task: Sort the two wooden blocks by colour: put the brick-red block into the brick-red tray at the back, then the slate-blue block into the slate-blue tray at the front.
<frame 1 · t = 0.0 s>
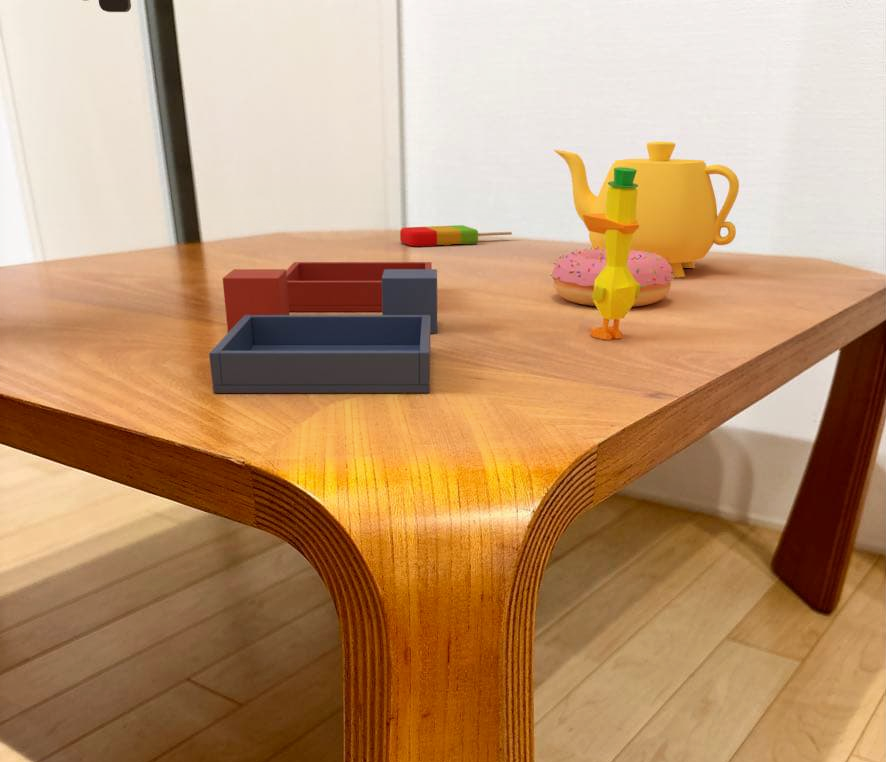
hand: (97, 6, 65), 22 cm above the table, tool pointing down, fingers open, 8 cm apart
blue tray: (330, 369, 61), on the table
toy figure: (605, 338, 70), on the table
popsicle: (458, 243, 120), on the table
red tray: (359, 299, 83), on the table
red block: (259, 327, 72), on the table
teapot: (636, 270, 100), on the table
doughnut: (610, 301, 84), on the table
blue block: (410, 327, 72), on the table
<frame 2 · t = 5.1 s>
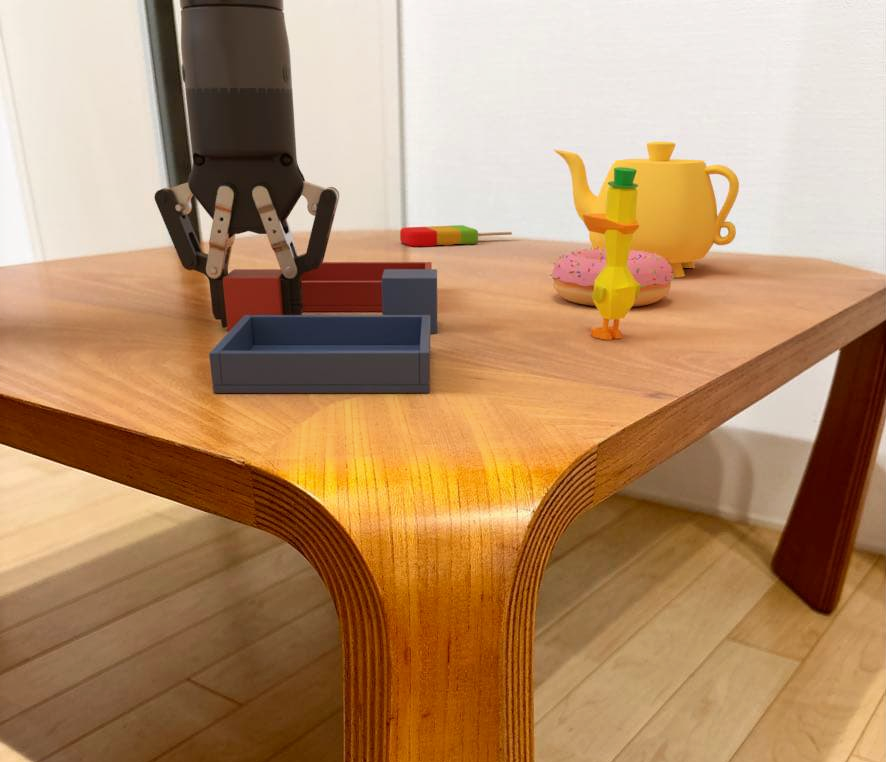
hand: (259, 324, 72), 0 cm above the table, tool pointing down, fingers closed on red block, 4 cm apart
red block: (259, 327, 72), on the table, touching gripper
everything else where it was.
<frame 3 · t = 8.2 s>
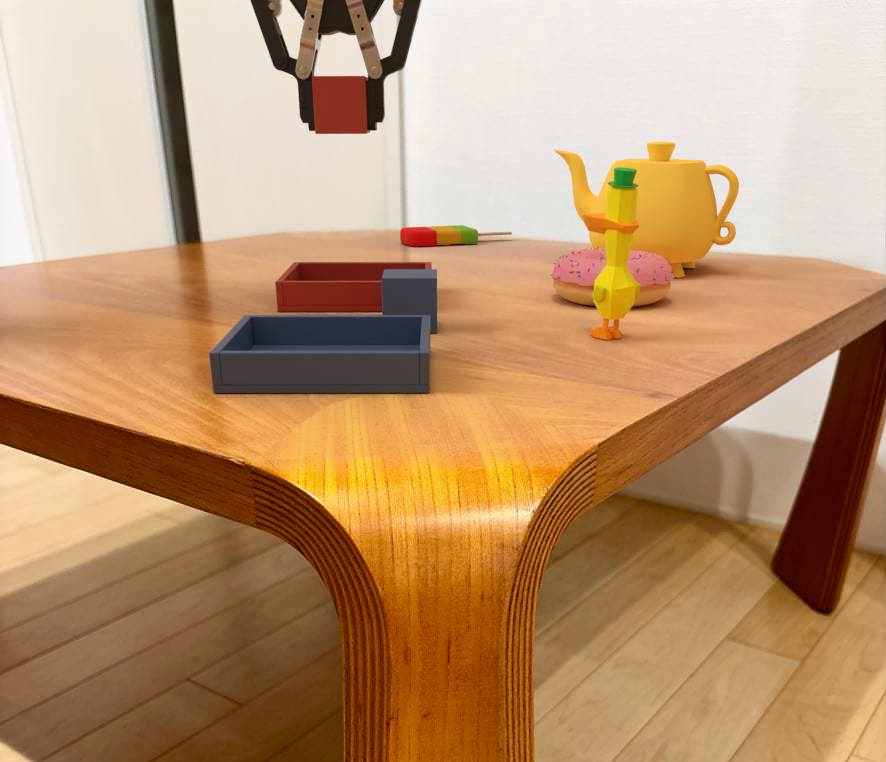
hand: (342, 129, 76), 14 cm above the table, tool pointing down, fingers closed on red block, 4 cm apart
red block: (343, 133, 76), point 14 cm above the table, touching gripper
everything else where it was.
when the fingers open (1 cm above the table, at t = 11.6 s): red block stays where it is, resting on red tray.
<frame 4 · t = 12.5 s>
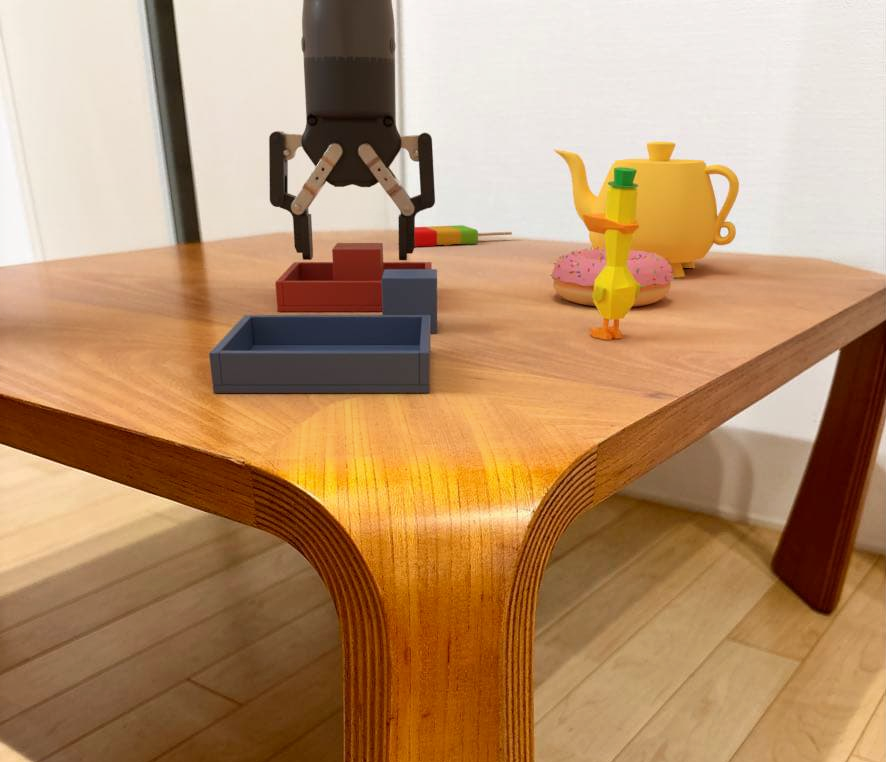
hand: (355, 259, 82), 4 cm above the table, tool pointing down, fingers open, 8 cm apart
red block: (359, 293, 83), resting on red tray
everything else where it was.
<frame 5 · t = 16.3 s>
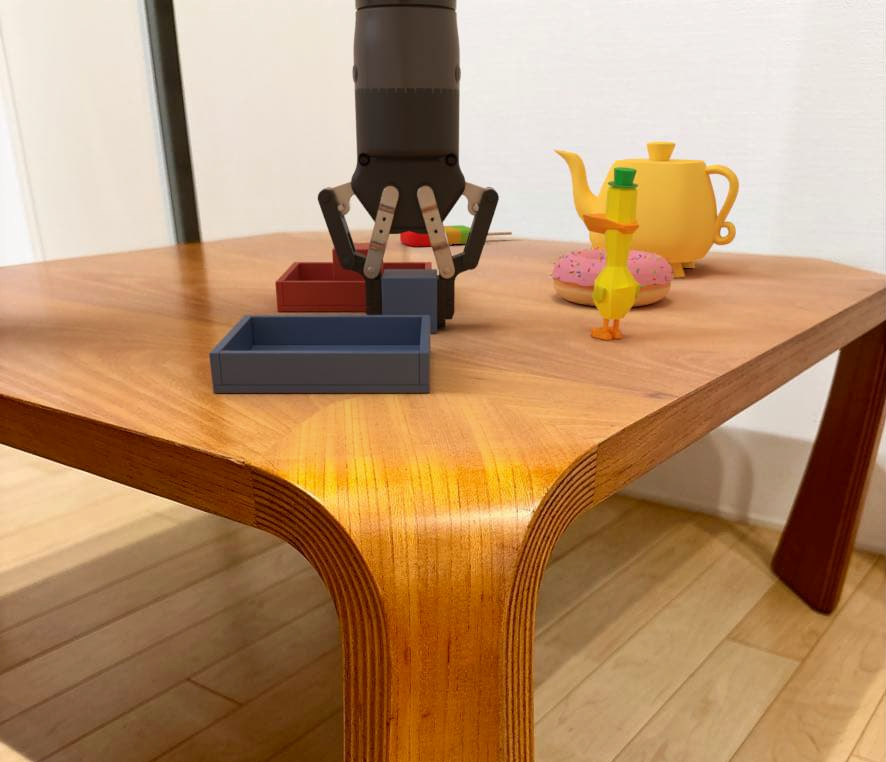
hand: (410, 324, 72), 0 cm above the table, tool pointing down, fingers closed on blue block, 4 cm apart
blue block: (410, 327, 72), on the table, touching gripper
everything else where it was.
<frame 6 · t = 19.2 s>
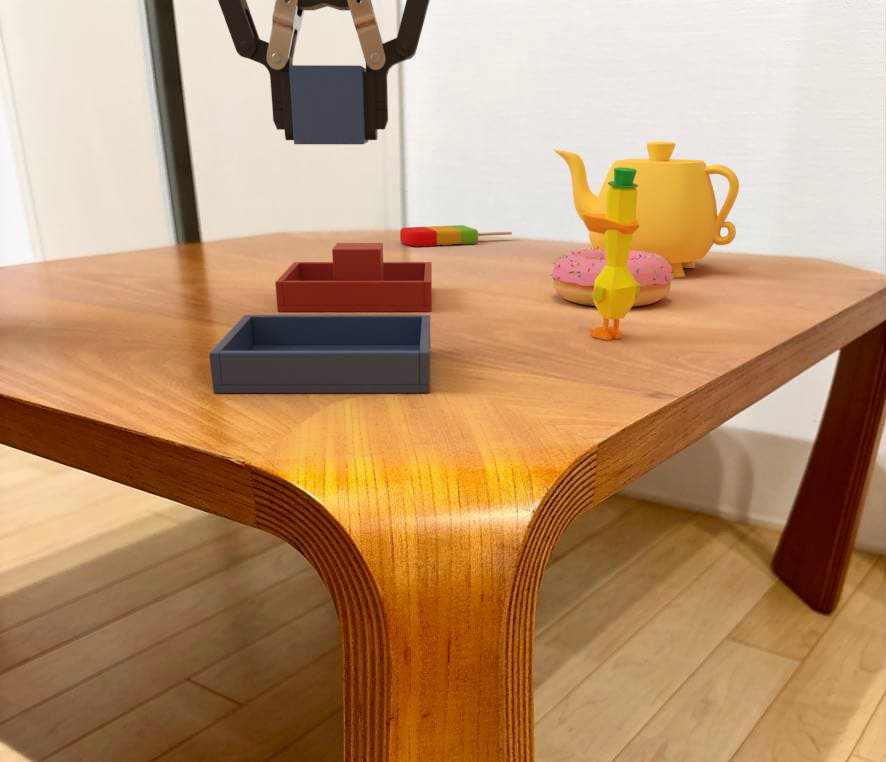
hand: (331, 138, 56), 14 cm above the table, tool pointing down, fingers closed on blue block, 4 cm apart
blue block: (332, 143, 56), point 14 cm above the table, touching gripper
everything else where it was.
when the fingers open (1 cm above the table, at t = 22.6 s): blue block stays where it is, resting on blue tray.
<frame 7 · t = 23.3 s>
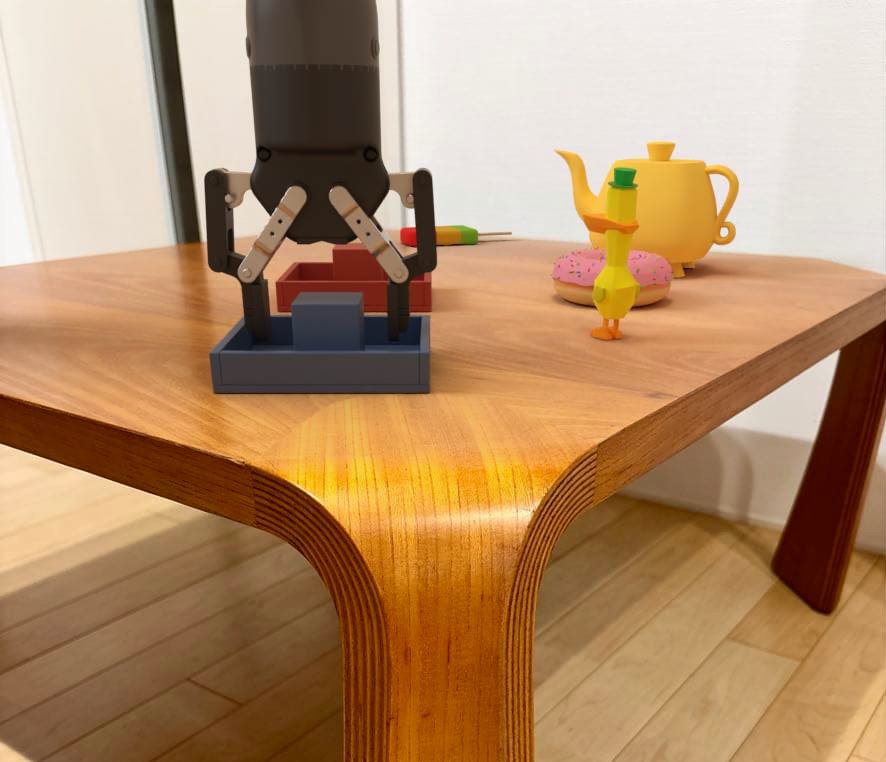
hand: (328, 339, 60), 2 cm above the table, tool pointing down, fingers open, 8 cm apart
blue block: (331, 362, 60), resting on blue tray
everything else where it was.
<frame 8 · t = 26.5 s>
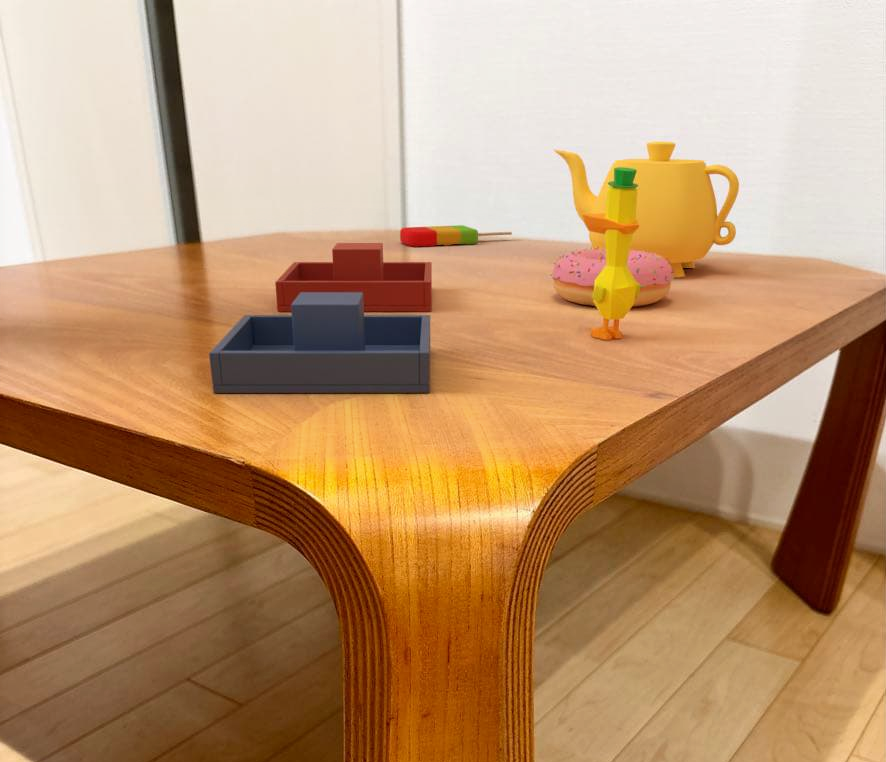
nothing on the table moved.
at the end: red block inside the target area in the red tray (0.1 cm from its centre), point 0.5 cm above the red tray's base; blue block inside the target area in the blue tray (0.1 cm from its centre), point 0.5 cm above the blue tray's base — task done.
